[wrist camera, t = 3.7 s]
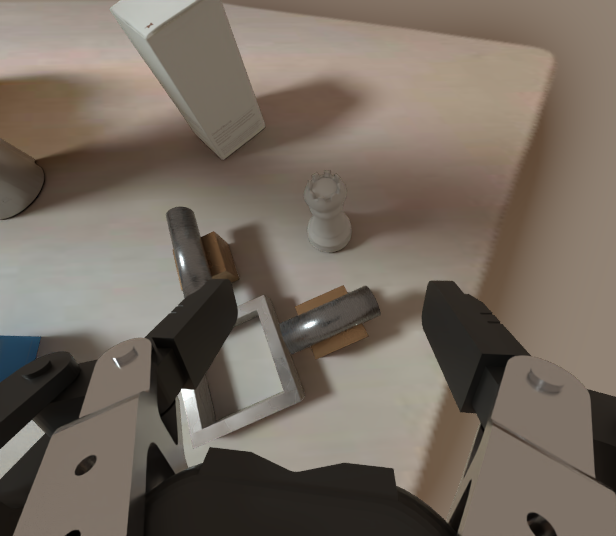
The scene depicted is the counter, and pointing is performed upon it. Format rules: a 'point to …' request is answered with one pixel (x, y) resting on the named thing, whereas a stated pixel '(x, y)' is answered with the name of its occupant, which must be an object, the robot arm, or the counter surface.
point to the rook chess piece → (327, 212)
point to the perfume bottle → (16, 353)
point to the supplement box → (196, 66)
